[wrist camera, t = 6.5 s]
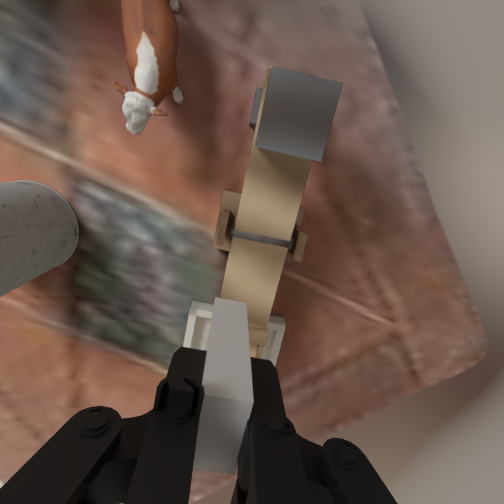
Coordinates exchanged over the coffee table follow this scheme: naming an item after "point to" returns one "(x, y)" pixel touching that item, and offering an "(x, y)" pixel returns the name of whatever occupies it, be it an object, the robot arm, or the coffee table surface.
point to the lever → (275, 189)
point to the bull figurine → (149, 59)
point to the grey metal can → (33, 232)
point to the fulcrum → (229, 217)
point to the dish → (201, 323)
